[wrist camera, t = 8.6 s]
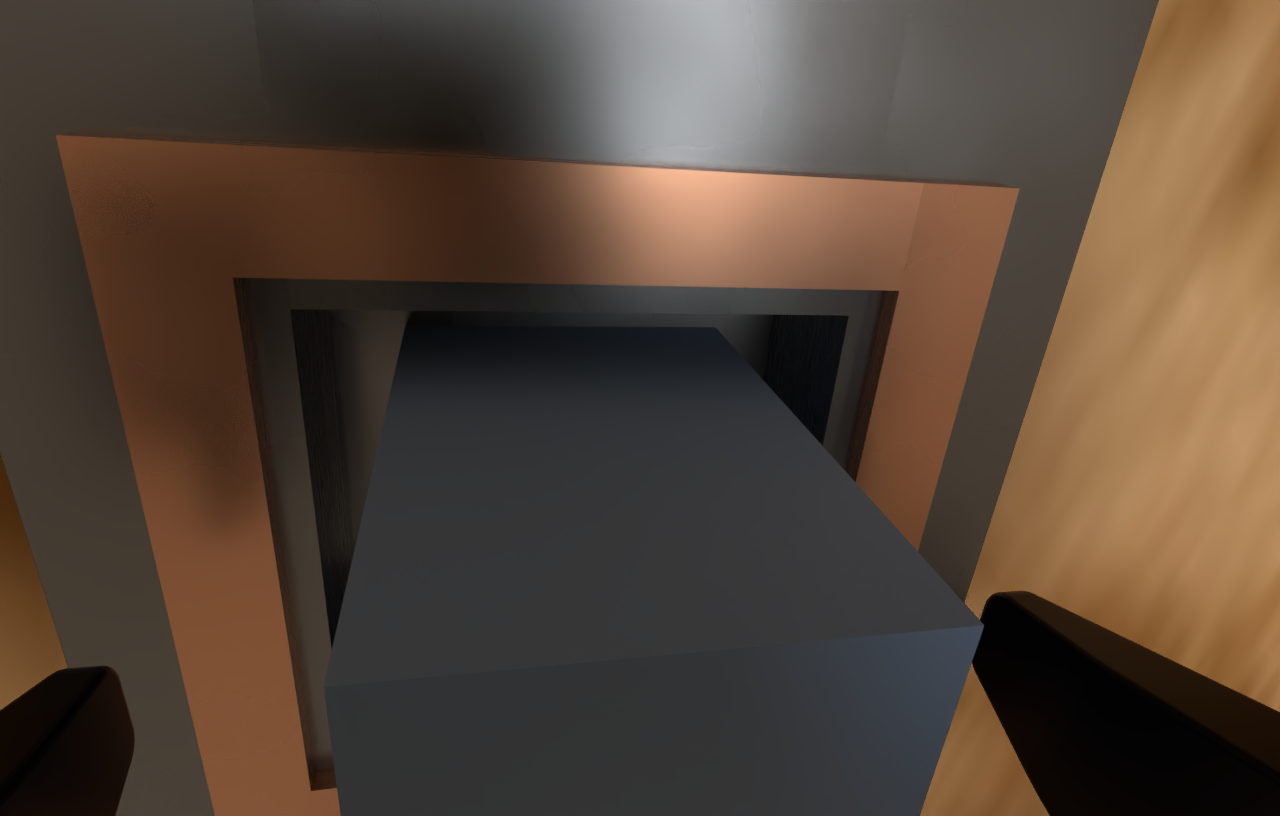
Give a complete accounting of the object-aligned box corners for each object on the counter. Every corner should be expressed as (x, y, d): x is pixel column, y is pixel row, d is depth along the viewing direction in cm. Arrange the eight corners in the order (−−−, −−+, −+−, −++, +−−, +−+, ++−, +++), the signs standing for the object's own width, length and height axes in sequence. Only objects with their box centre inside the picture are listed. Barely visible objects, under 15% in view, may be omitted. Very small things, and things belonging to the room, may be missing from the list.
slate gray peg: (685, 569, 13) (861, 987, 7) (420, 587, 12) (378, 1084, 6) (715, 327, 11) (984, 626, 5) (405, 325, 10) (322, 685, 4)
